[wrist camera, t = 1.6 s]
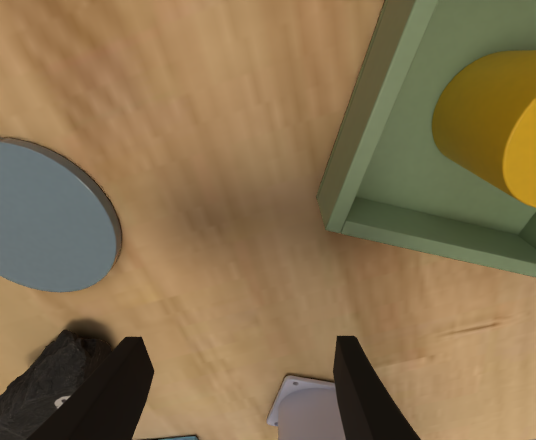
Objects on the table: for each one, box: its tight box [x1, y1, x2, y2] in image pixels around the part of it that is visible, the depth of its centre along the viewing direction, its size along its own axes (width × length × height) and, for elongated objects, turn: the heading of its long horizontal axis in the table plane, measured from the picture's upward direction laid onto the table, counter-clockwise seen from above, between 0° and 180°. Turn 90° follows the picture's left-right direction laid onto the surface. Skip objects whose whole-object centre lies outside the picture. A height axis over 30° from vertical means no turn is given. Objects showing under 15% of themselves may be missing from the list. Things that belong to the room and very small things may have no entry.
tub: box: [316, 0, 536, 277], centre depth 14 cm, size 14×14×4 cm
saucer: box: [0, 138, 122, 292], centre depth 19 cm, size 11×11×1 cm
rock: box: [0, 330, 112, 440], centre depth 24 cm, size 9×10×6 cm
